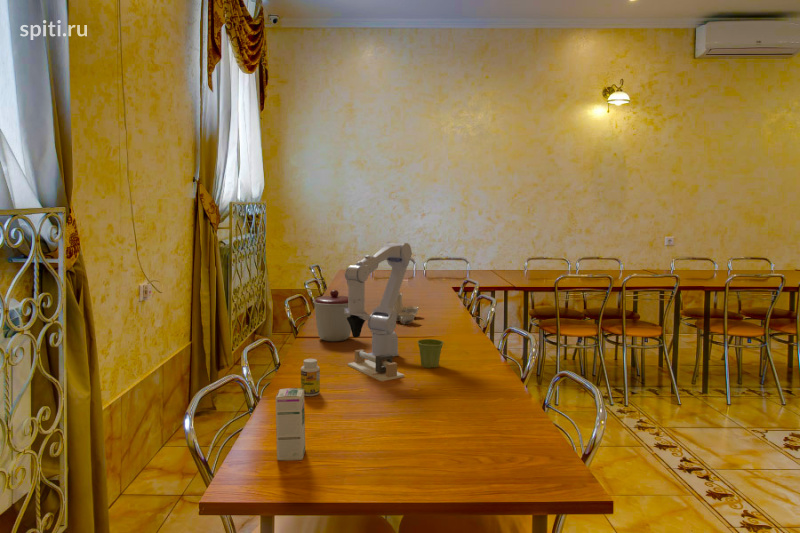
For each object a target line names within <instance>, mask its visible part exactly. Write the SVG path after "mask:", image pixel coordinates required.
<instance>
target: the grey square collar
mask: <svg viewBox="0 0 800 533" xmlns="http://www.w3.org/2000/svg"><path fill="white" fill-rule="evenodd" d="M393 358H394V356H393V355H390V354H385V355H379V356H376V372H378V373H383V372H386V367H382V360H386V361H387V362H390V363H393V362H394V360H393Z"/></svg>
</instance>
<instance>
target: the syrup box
mask: <svg viewBox="0 0 800 533" xmlns="http://www.w3.org/2000/svg"><path fill="white" fill-rule="evenodd" d="M305 414H306V413H305V396H304V389H301V387H300V388H299V387H298V388H297V387H290V388H289V387H288V388H279V389H278V392H277V393H276V396H275V426H276V428H275V431H276V435H275V436H276V437H275V438H276V460H277V461H303V458H304V455H305V452H306V421H305V420H306V417H305Z"/></svg>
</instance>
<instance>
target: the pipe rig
mask: <svg viewBox="0 0 800 533" xmlns="http://www.w3.org/2000/svg"><path fill="white" fill-rule="evenodd" d="M368 353H369V352H368ZM368 353H367V352H366V351H365V349H362V348H361V349H355V350H354V361H353V362H348V363H347V366H348V367H351V368H352V369H354V370H356V371H359V372H361V373H362V374H365V375H367V376H369V377H371V378H373V379H376V380H378V381H380V382H385V381H386V382H387V381H390V380H395V379H399V378H405V374H404V373H402V372H399V371H398V363H397V362H394V361H393V363H390V362H387V361H386V360H382V367H386V372H383V373H378V372H376V357H375V356H373V355H370V354H368Z"/></svg>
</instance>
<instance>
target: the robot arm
mask: <svg viewBox="0 0 800 533" xmlns="http://www.w3.org/2000/svg"><path fill="white" fill-rule="evenodd" d="M412 255H413V251H412V247H411V245H410V243H409V242H391V241H387V242H386V243H384V244H383V245H382V248H381V249H379V250H378V251H377V252H376V253H375V254H374V255H371V254H370V255H369V254H366V255H365V256H364V258H362V259H361V260H359V261H357V262H356V264H350V265H349V266H348V267H347V268H346V269H345V272H344V277H345V280H346V284H347V286H348V287H347V288H348V290H347V291H348V296H347V297H348V308H344V314H348V315H351V316H350V317H347V320H348V322H349V324H350V327H351V335H352V338H360V336H361V332H362V329H363V326H364V324H365V322H366V321H367V323H366V324H367V327H368V329H369V330H370V333H371V352H368V354H370V355H373V356H375V357H376V356H379V355H385V354H390V355H393V357H397V356H400V354H399V337H398V334H397V333H396V332H395V329H396V327H397V322H396V319H397V315H396V313H395V312H394V310H393V308H394V305H395V302H396V299H397V296H398V293H399V292H400V290H401V287H402V284H403V282H404V281H403V280H404V278H405V275H406V272H407V269H408V266H409V264H410V261H411V258H412ZM384 261H386V262H387V263H388V265H389V266H390V267H391V271H390V274H389V278H388V281H387V283H386V286H385V289H384V292H383V295H382V297H381V301H380V304H379V306H376V307H375V308H373V309H372V312H371V314H370V313H368V312H366V311H365V303H366V302H365V297H366V296H365V293H366V292H365V287H366V286H365V284H366V281H367V280H368V278H369V276H370V274H372V273H373V272H374V271H376V270H377V269H378V267H379V264H381V263H382V262H384Z"/></svg>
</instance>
